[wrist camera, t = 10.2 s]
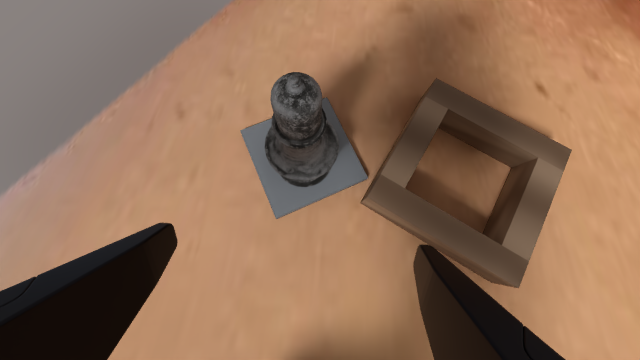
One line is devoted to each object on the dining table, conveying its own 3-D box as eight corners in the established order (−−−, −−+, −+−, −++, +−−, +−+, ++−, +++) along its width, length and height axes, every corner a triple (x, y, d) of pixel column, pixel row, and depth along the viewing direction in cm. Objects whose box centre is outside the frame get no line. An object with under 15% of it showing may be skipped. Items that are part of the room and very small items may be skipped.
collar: (491, 282, 22) (518, 288, 19) (360, 202, 23) (367, 197, 20) (541, 160, 25) (571, 149, 22) (422, 96, 26) (436, 78, 23)
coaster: (276, 219, 23) (275, 218, 22) (241, 133, 25) (240, 130, 24) (366, 179, 24) (368, 177, 23) (326, 100, 26) (326, 97, 25)
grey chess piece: (273, 193, 23) (230, 138, 11) (270, 132, 24) (230, 27, 13) (338, 187, 23) (364, 128, 11) (332, 127, 24) (348, 21, 13)
